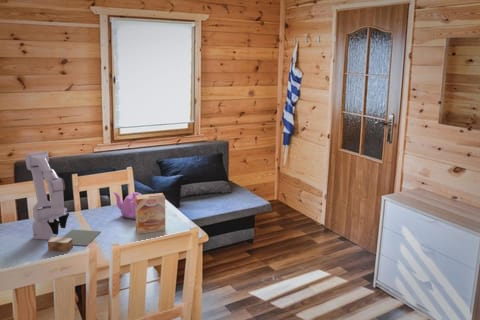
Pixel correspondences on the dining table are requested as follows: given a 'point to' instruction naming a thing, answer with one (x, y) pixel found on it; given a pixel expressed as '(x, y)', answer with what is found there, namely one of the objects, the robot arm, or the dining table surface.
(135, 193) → the teapot
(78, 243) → the mat
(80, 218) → the dining table surface
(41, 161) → the robot arm
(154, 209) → the coffeecake box
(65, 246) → the card box
